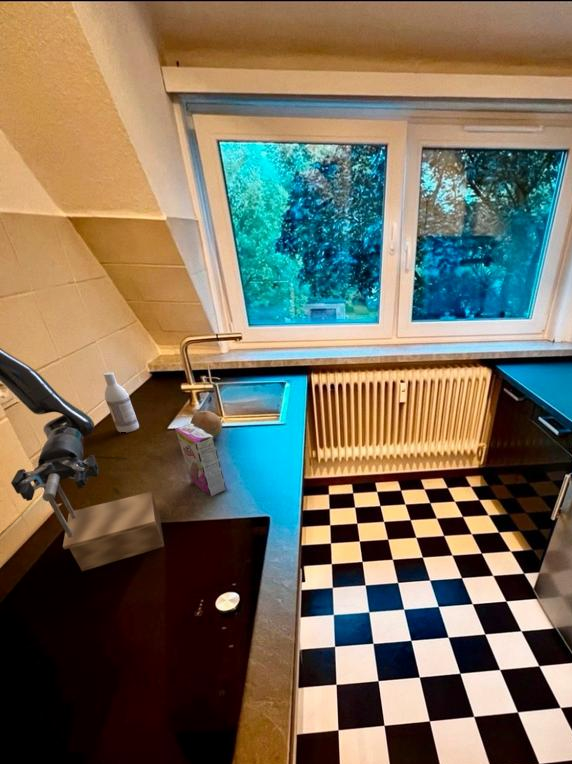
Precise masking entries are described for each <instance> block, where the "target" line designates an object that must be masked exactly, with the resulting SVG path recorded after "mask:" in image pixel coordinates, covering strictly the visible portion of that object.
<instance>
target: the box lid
mask: <svg viewBox="0 0 572 764" xmlns="http://www.w3.org/2000/svg"><path fill="white" fill-rule="evenodd" d="M59 479H60V476H59V475H58V474H55V473H53V474H50V475H49V476H48V480H47V483H46V486H45V487H44V490H43V493H42V500H43V501H45V502H48V503H49V505H50V506H51V508H52V510H53V512H54V514H55V516H56V517H57V519H58V521H59V522H60V524H61V526H62V529H64V536H63V537H64V538H63V544H62V548H63V550H68V549H69V548H72V547H75V546H79V545H82V544H86V543H90V542H93V541H97V540H100V539H104V538H107V537H111V536H115V535H118V534H122V533H125V532H129V531H133V530H136V529H140V528H143V527H147V526H150V525H154V524H156V523H155V515H154V507H153V498H154V497H153V498H152V496H153V493H152V491H148V492H144V493H140V494H136V495H132V496H128V497H125V498H120V499H115V500H112V501H108V502H104V503H100V504H96V505H91V506H88V507H84V508H79V509H75V510H74V509H73V507H72V505H71V503H70V501H69V499H68V497H67V495H66V494H65V492H64V490H63V488H62V486H61V483H60V480H59ZM57 492H58V495H59V496H60V498H61V500H62V502H63V504H64V506H65V508H66V509H67V511H68V516H67V520H66V519H65V517H64V515H63V513H62V512H61V509H60V508H59V506H58V504H57V502H56V500H55V499H56V495H57Z"/></svg>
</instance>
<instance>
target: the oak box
mask: <svg viewBox="0 0 572 764" xmlns="http://www.w3.org/2000/svg"><path fill="white" fill-rule="evenodd" d="M152 498H153V507H154V515H155V523H156V524H154V525H150V526H147V527H143V528H140V529H136V530H133V531H129V532H125V533H122V534H118V535H115V536H111V537H107V538H104V539H100V540H97V541H93V542H90V543H86V544H82V545H79V546H75V547H72V548H68V549H69V551H70V552H71V554H72V556H73V558H74V560H75V561H76V563H77V565H78V566H79V569H80V570H81V572H84V571H89V570H91V569H94V568H97V567H101V566H104V565H108V564H111V563H115V562H117V561H120V560H124V559H127V558H130V557H134V556H138V555H141V554H144V553H147V552H151V551H155V550H157V549H160V548H161V549H162V548H164V547H165V541H164V535H163V527H162V521H161V514H160V511H159V510H158V507H157V503H156V502H155V499H154V495H152Z"/></svg>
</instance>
